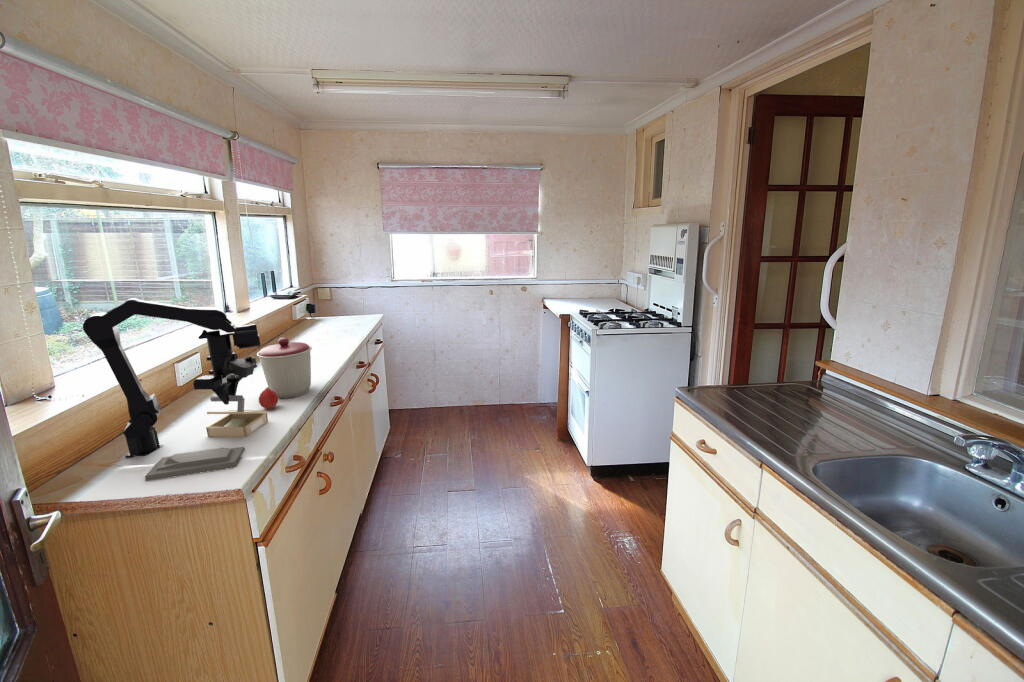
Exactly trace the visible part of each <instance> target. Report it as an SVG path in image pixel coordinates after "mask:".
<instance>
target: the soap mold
mask: <svg viewBox="0 0 1024 682" xmlns="http://www.w3.org/2000/svg"><path fill="white" fill-rule="evenodd" d="M245 450H246V448H245V446H239V447H230V448H229V447H218V448H209V449H201V450H197V451H188V452H180V453H174V454H173V455H170V456H165V457H161V458H160V459H159V461H158V462H157V463H156V464H155V465H154V466H153V467H152V468H151V469H150V470H149V471H148V472H147V473H146V474H145V476H144V479H145V482H148V481H155V480H162V479H166V478H167V479H168V477H169V478H173V477H174V476H176V477H181V475H182V476H188V475H187V474H189V475H194V473H196V474H201V473H200V472H203V473H208V472H207V471H209V472H215V471H214V470H216V471H221V470H222V471H223V470H227V469H226V468H229V469H234V467H236V468H237V467H238V465H239V464H240V461H241V460H242V458H241V457H242V455H243V454H244V452H245ZM240 459H241V460H240ZM237 464H238V465H237ZM174 478H175V477H174Z"/></svg>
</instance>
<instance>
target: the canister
mask: <svg viewBox="0 0 1024 682" xmlns="http://www.w3.org/2000/svg"><path fill="white" fill-rule="evenodd" d="M312 349H313V347H312V346H311V345H310V344H308V343H306V342H301V341H292V342H291V341H290V340H289V338H288V337H280V338H279V339H278V340H277V343H275V344H270V345H268V346H265V347H263V348H262V349H261V350H260V351H258V352H257V353H256V356H257V357H258V358H259V361H260V365H261V367H262V371H263V375H264V378H265V381H266V384H267V387H269V389H270V390H272V391H274V392H275V393H276V394H277V395H278V399H287V398H289V397H290V398H295V397H299V396H302V395H304V394H305V393H307V392H308V391H309V390H310V388H311V385H312V380H311V379H312V367H311V366H312V365H311V364H312V363H311V362H312V361H311V358H312V357H311V351H312Z"/></svg>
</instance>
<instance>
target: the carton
mask: <svg viewBox="0 0 1024 682" xmlns="http://www.w3.org/2000/svg"><path fill="white" fill-rule="evenodd" d="M240 418H246V421H247V425H246V426H245V427H224V426H225V425H226V424H227V423H228V422H230V421H231V420H232V419H240ZM268 422H269V418H268V413H267V412H266V413H253V414H225V416H222V417H221V418H220V419H218V420H216V421H214V422H212V423H211V424H210V425H208V426H206V427H205V429H206V434H207V437H216V438H217V437H220V438H221V437H222V438H223V437H224V438H225V437H229V438H230V437H231V438H232V437H236V438H237V437H239V438H242V437H243V438H245V437H249V436H250V435H251V434H252V433H254V432H255V431H257V430H258V429H260V428H261V427H263V426H264V425H265V424H267V423H268Z"/></svg>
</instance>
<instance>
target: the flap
mask: <svg viewBox="0 0 1024 682" xmlns="http://www.w3.org/2000/svg"><path fill="white" fill-rule="evenodd" d="M231 401H233V402H237V408H236V409H237V410H236V409H233V410H232V409H230V410H221V411H220V410H219V411H207V412H206V414H207V415H228V414H253V413H267V410H261V409H258V410H255V409H254V410H253V409H248V410H247V409H245V397H244V396H243V394H238V395H237V394H236V395H229V402H231ZM210 402H222V401H221V399H220V398H219V397H218V396H217V395H215V394H213V395H211V396H210Z"/></svg>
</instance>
